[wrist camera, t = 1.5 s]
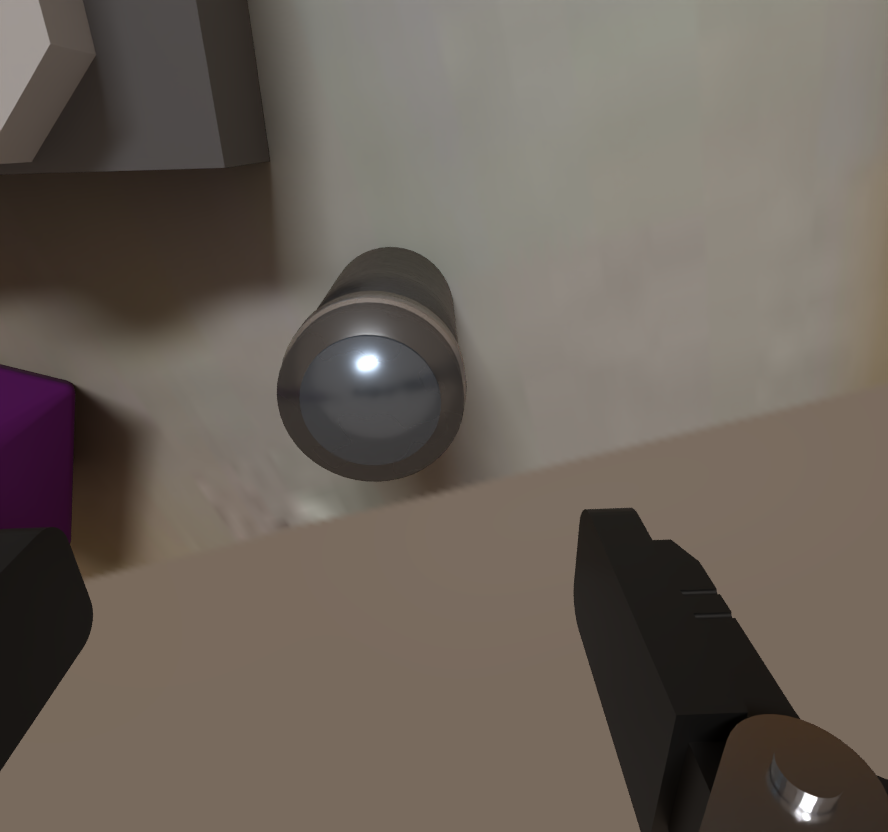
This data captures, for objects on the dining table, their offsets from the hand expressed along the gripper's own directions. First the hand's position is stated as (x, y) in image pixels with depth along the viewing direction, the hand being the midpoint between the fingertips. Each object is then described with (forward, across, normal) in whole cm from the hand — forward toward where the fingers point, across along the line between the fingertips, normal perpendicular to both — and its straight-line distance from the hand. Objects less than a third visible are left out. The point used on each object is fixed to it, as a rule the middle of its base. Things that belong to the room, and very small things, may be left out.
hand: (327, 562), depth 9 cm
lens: (+15, 0, 0) cm, 15 cm away
